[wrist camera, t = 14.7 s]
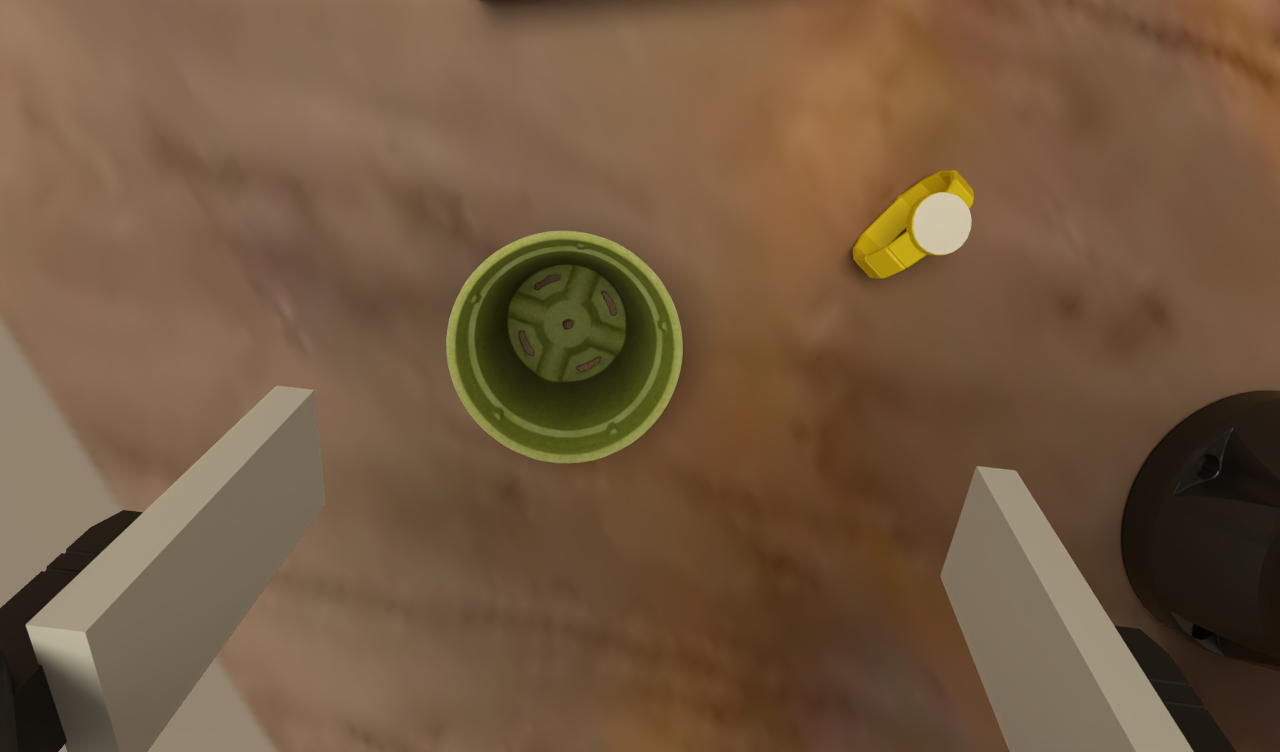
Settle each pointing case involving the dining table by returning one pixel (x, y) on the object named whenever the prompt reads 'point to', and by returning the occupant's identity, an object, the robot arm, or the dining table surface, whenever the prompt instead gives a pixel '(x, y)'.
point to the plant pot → (564, 347)
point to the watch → (917, 225)
